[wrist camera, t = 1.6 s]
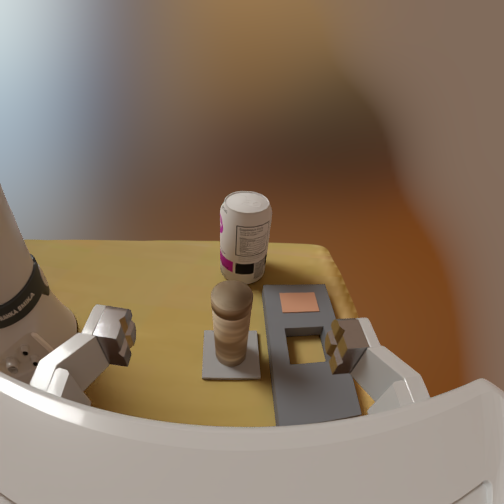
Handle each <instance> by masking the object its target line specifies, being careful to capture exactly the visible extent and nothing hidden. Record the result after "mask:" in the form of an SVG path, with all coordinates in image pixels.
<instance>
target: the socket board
mask: <svg viewBox="0 0 504 504" xmlns="http://www.w3.org/2000/svg"><path fill="white" fill-rule="evenodd" d="M262 299H263V308H264V317H265V326H266V335H267V345H268V354H269V363H270V372H271V382H272V391H273V401H274V410H275V420H276V426H290V425H302V424H312V423H321V422H329V421H336V420H342V419H348V418H354V417H358V416H360V415H361V410H360V406H359V401H358V397H357V393H356V389H355V385H354V381H353V378H352V376H351V375H350V373H348V374H334V375H332V372H331V368H330V365H329V361H330V359H331V357H330V356H329V355H328V354H327V353H326V350H325V337H326V335H327V332H329V331H330V330H331V329H332V328H331V323H332V321H333V320H334V319H336V318H335V315H334V311H333V308H332V305H331V302H330V299H329V296H328V292H327V289H326V286H325V284H317V285H263V291H262ZM307 335H320V338H321V342H322V347H323V351H324V355H325V359H326V362H317V363H306V364H293V365H290V360H289V354H288V347H287V341H286V337H287V336H307Z"/></svg>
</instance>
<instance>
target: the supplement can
mask: <svg viewBox="0 0 504 504" xmlns="http://www.w3.org/2000/svg"><path fill="white" fill-rule="evenodd" d="M271 218H272V209H271V206H270V204H269V200H268V199H267V198H266V197H265V196H263V195H262V194H259V193H256V192H250V191H239V192H234V193H232V194H229V195H228V196H227V197H226V198H225V201H224V202H223V204H222V206H221V209H220V266H221V272H222V275H223V276H224V277H225V278H226V279H227V280H236V281H240V282H243V283H245V284H250V283H253V282H256V281H258V280H259V279H260V278H261V277H262V276H263V274H264V271H265V263H266V256H267V249H268V241H269V234H270V226H271Z"/></svg>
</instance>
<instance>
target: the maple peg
mask: <svg viewBox="0 0 504 504" xmlns="http://www.w3.org/2000/svg"><path fill="white" fill-rule="evenodd" d="M252 302H253V293H252V290H251V289H250V287H249V286H248V285H246V284H245V283H243V282H240V281H236V280H227V281H223V282H221V283H219V284H217V285H216V286H215V287H214V288H213V290H212V292H211V304H212V312H213V327H214V340H215V352H216V358H217V360H218V361H219V362H220V363H221V364H223V365H225V366H229V367H233V366H237V365H239V364H241V363H242V362H243V361H244V360H245V358H246V352H247V343H248V334H249V325H250V316H251V309H252Z"/></svg>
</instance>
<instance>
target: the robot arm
mask: <svg viewBox="0 0 504 504" xmlns="http://www.w3.org/2000/svg"><path fill="white" fill-rule="evenodd" d="M131 318H132V313H131V310H129V309H124V308H118V307H111V306H104V305H98V304H97V305H95V306H94V308H93V310H92V312H91V314H90V316H89V318H88V320H87V322H86V324H85V326H84V328H83V331H82V333H77V324H76V319H75V317H74V315H73V313H72V312H71V311H70V310H69V309H68V308H67V307H66V306H64V305H63V304H62V303H61V302H60V301H59V300H58V299H57V298H56V296H55V295H54V294H53V293H52V291H51V290H50V288H49V285H48V282H47V280H46V278H45V276H44V274H43V272H42V270H41V268H40V266H39V264H37V262H36V260H35V258H34V257H33V255H31V254H30V253H29V251H28V249H27V247H26V245H25V242H24V240H23V238H22V235H21V233H20V231H19V228H18V226H17V223H16V221H15V218H14V215H13V213H12V211H11V209H10V207H9V205H8V203H7V200H6V198H5V195H4V193H3V190H2V187H1V184H0V504H504V392H503V391H502V390H501V389H499V388H498V387H497V386H495V385H494V384H493V383H491V382H489V381H488V380H486V379H482V378H481V379H478V380H475V381H473V382H471V383H469V384H466V385H464V386H461V387H459V388H456V389H454V390H451V391H449V392H446V393H443V394H440V395H438V396H435V397H432V398H430V396H429V394H428V391H427V389H426V387H425V384H424V382H423V380H422V377H421V375H420V374H418V373H417V372H416V371H415V370H413V369H412V368H411V367H410V366H408V365H407V364H406V363H404V362H403V361H402V360H401V359H399V358H398V357H397V356H396V355H394V354H393V353H392V352H391V351H389V350H388V349H387V348H385V347H384V346H381V345H380V344H379V341H378V339H377V336H376V334H375V332H374V330H373V328H372V326H371V323H370V321H369V319H367V318H356V319H355V318H349V319H334V320H333V321H332V323H331V328H332V329H331V330H330V331H329V332H327V335H326V337H325V350H326V353H327V354H328V355H329V356H330V357H331V359H330V361H329V365H330V368H331V372H332V375H334V374H348V373H350V375H351V376H352V377H353V378H354V379H355V380H356V381H357V382H358V383H359V385H360V386H361V387H362V388H363V389H364V390H365V391H366V392H367V393H368V394H369V395H370V396H371V398H372V399H373V400H374V401H375V403H374V404H373V405H372V406H371V407H370V408H369V409H368V411H367V412H368V415H364V416H359V417H354V418H348V419H342V420H336V421H329V422H321V423H312V424H302V425H290V426H273V427H220V426H203V425H191V424H181V423H172V422H164V421H158V420H151V419H145V418H139V417H134V416H129V415H124V414H120V413H115V412H111V411H107V410H103V409H99V408H95V407H91V401H90V399H89V398H88V397H87V396H86V394H85V393H84V392H83V391H84V390H85V389H86V388H87V387H88V386H89V385H90V384H91V383H92V382H93V381H94V380H95V379H96V378H97V377H98V376H99V375H100V374H101V373H102V372H103V371H104V370H105V369H106V368H107V367H108V366H109V364H113V365H120V366H126V367H128V364H129V361H130V357H131V351H130V348H131V347H132V346H134V343H135V340H136V327H135V323H134V322H133V321H131Z"/></svg>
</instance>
